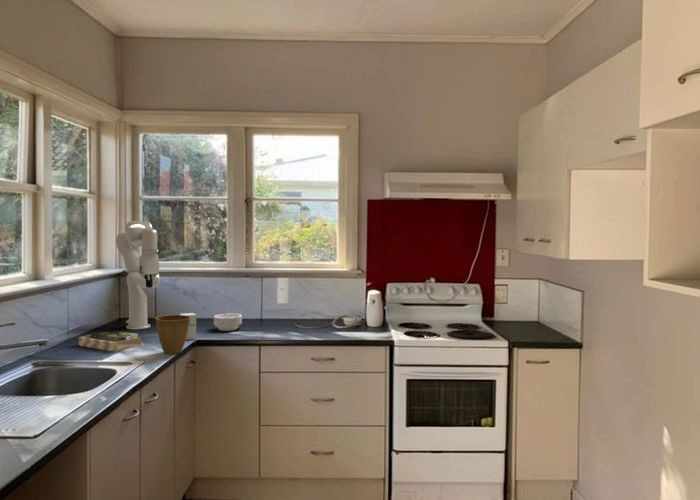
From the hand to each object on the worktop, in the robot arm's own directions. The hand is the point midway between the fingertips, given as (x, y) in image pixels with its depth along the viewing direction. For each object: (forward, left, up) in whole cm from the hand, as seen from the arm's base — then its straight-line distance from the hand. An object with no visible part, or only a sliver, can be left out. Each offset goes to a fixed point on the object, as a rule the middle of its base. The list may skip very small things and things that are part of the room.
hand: (149, 287), depth 268 cm
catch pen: (+4, -26, -25) cm, 37 cm away
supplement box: (+25, +2, -25) cm, 36 cm away
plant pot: (+41, -22, -25) cm, 53 cm away
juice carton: (+5, -25, -26) cm, 36 cm away
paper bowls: (+27, +30, -25) cm, 48 cm away
